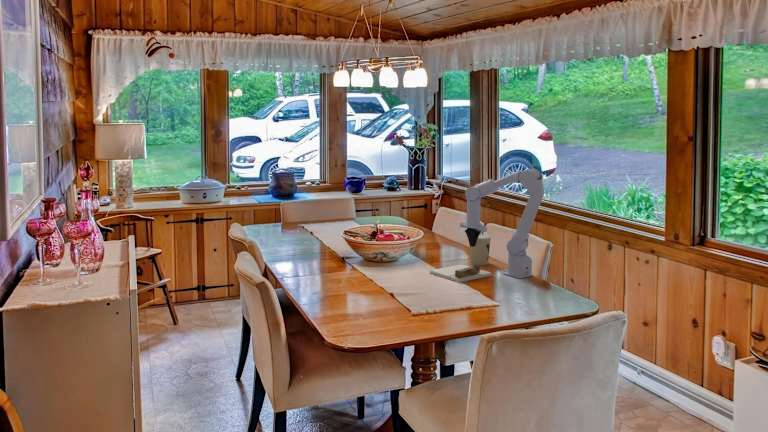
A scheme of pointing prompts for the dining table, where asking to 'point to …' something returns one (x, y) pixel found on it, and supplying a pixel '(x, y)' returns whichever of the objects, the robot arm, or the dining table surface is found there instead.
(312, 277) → the dining table surface
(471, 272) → the bar
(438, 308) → the dining table surface
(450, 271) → the latch board
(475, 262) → the coffee cup
